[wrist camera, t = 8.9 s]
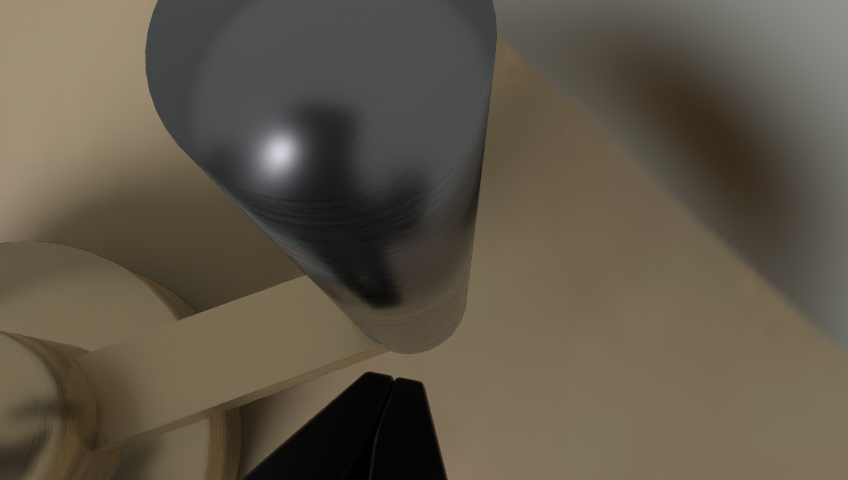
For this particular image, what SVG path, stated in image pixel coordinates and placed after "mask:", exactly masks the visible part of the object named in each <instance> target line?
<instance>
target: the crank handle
mask: <svg viewBox="0 0 848 480" xmlns="http://www.w3.org/2000/svg"><path fill="white" fill-rule="evenodd" d="M496 39H497V31H496V16H495V11H494V6H493V2H492V0H158V2H157V4H156V7H155V9H154V11H153V14H152V18H151V22H150V25H149V29H148V34H147V43H146V51H145V54H146V74H147V80H148V86H149V91H150V94H151V97H152V100H153V103H154V106H155V108H156V111H157V113H158V115H159V117H160V118H161V120H162V122H163V124H164V126H165V128H166V129H167V131H168V132H169V133H170V135H171V136H172V137H173V139H174V140H175V141H176V143H177V144H178V145H179V146H180V147H181V148H182V149H183V150H184V151H185V152H186V153H187V154H188V155H189V156H190V157H191V158H192V159H193V160H194V161H195V163H196V164H197V165H198V166H199V167H200V168H201V169H202V170H203V171H204V172H205V173H206V174H207V175H208V176H209V177H210V178H211V179H212V180H213V181H214V182H215V183H216V184H217V185H218V186H219V187H220V188H221V189H222V190H223V191H224V192H225V193H226V194H227V195H228V196H229V197H230V198H231V199H232V200H233V201H234V202H235V203H236V204H237V205H238V206H239V207H240V208H241V209H242V210H243V211H244V212H245V213H246V214H247V215H248V216H249V217H250V218H251V219H252V220H253V221H254V222H255V223H256V224H257V225H258V226H259V227H260V228H261V229H262V230H263V231H264V232H265V233H266V235H267V236H268V237H269V238H270V239H271V240H272V241H273V242H274V243H275V244H276V245H277V246H278V247H279V248H280V249H281V250H282V251H283V252H284V253H285V254H286V255H287V256H288V257H289V258H290V259H291V260H292V261H293V262H294V263H295V264H296V265H297V266H298V267H299V268H300V269H301V270H302V271H303V272H304V273H305V274H306V275H304V276H301V277H298V278H295V279H293V280H290V281H287V282H284V283H281V284H279V285H276V286H273V287H270V288H267V289H265V290H262V291H259V292H256V293H254V294H251V295H248V296H245V297H242V298H240V299H237V300H234V301H231V302H229V303H226V304H223V305H220V306H217V307H215V308H212V309H209V310H206V311H203V312H201V313H198V314H197V313H196V311H195V310H194V309H193V308H192V307H191V306H190V305H188V304H187V303H186V302H185V301H183V300H182V299H181V298H180V297H178V296H177V295H176V294H175V293H173V292H171V291H170V290H168V289H166V288H165V287H163V286H161V285H159V284H158V283H156V282H154V281H152V280H150V279H148V278H145V277H143V276H141V275H139V274H137V273H135V272H133V271H131V270H129V269H126V268H124V267H122V266H120V265H118V264H116V263H114V262H112V261H110V260H107V259H105V258H103V257H100V256H98V255H95V254H93V253H90V252H88V251H85V250H83V249H79V248H74V247H70V246H66V245H62V244H56V243H46V242H36V241H28V242H6V243H0V480H236V479H237V474H238V468H239V463H240V457H241V440H242V424H241V408H240V406H242V405H245V404H247V403H250V402H253V401H255V400H258V399H261V398H263V397H266V396H269V395H272V394H274V393H277V392H280V391H282V390H285V389H288V388H291V387H293V386H296V385H299V384H301V383H304V382H307V381H309V380H312V379H315V378H318V377H320V376H323V375H326V374H328V373H331V372H334V371H337V370H339V369H342V368H345V367H347V366H350V365H353V364H356V363H358V362H361V361H364V360H366V359H369V358H372V357H374V356H377V355H380V354H383V353H385V352H388V351H392V352H396V353H403V354H414V353H420V352H424V351H427V350H430V349H432V348H435V347H437V346H438V345H440V344H441V343H443V342H444V341H445V340H447V339H448V338H449V337H450V336H451V335H452V334H453V333H454V331H455V330H456V328H457V327H458V325H459V324H460V322H461V320H462V317H463V315H464V312H465V308H466V302H467V293H468V284H469V276H470V267H471V259H472V250H473V241H474V233H475V224H476V215H477V207H478V198H479V190H480V181H481V172H482V164H483V155H484V146H485V138H486V129H487V121H488V112H489V103H490V95H491V86H492V77H493V69H494V60H495V50H496Z"/></svg>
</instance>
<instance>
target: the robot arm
mask: <svg viewBox="0 0 848 480" xmlns="http://www.w3.org/2000/svg"><path fill="white" fill-rule="evenodd" d="M241 480H448V479H447V475H446V471H445V467H444V463H443V459H442V455H441V451H440V447H439V443H438V439H437V435H436V431H435V427H434V423H433V419H432V415H431V411H430V406H429V402H428V398H427V394H426V390H425V387H424V385H423V383H422V382H420V381H415V380H410V379H405V378H396V380H395V381H394V379H393V377H392V376H390V375H385V374H379V373H374V372H366V373H364V374H363V375H362V376H361V377H359V378H358V379H357V380H356V381H355V382H354V383H352V384H351V385H350V386H349V387H348V388H347V389H345V390H344V391H343V392H342V393H341V394H340V395H338V396H337V397H336V398H335V399H334V400H333V401H332V402H330V403H329V404H328V405H327V406H326V407H325V408H323V409H322V410H321V411H320V412H319V413H318V414H316V415H315V416H314V417H313V418H312V419H311V420H309V421H308V422H307V423H306V424H305V425H304V426H302V427H301V428H300V429H299V430H298V431H297V432H296V433H294V434H293V435H292V436H291V437H290V438H289V439H287V440H286V441H285V442H284V443H283V444H282V445H280V446H279V447H278V448H277V449H276V450H275V451H273V452H272V453H271V454H270V455H269V456H268V457H266V458H265V459H264V460H263V461H262V462H261V463H260V464H258V465H257V466H256V467H255V468H254V469H253V470H251V471H250V472H249V473H248V474H247V475H246V476H244V477H243V478H242V479H241Z"/></svg>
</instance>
